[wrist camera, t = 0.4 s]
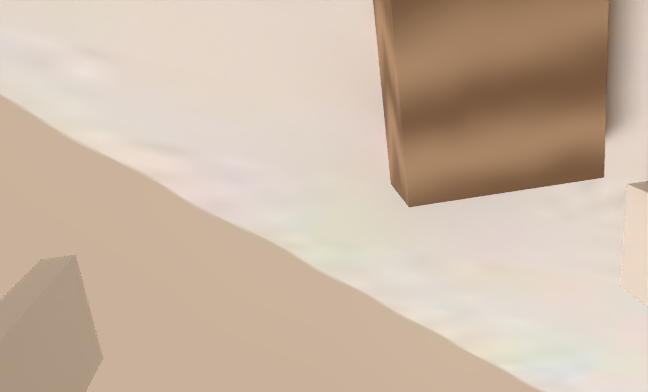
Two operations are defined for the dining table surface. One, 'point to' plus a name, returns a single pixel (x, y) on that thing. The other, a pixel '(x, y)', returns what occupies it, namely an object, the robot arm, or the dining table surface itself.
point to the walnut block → (491, 94)
